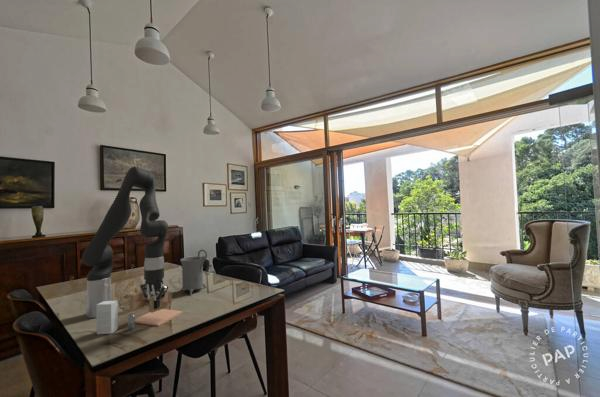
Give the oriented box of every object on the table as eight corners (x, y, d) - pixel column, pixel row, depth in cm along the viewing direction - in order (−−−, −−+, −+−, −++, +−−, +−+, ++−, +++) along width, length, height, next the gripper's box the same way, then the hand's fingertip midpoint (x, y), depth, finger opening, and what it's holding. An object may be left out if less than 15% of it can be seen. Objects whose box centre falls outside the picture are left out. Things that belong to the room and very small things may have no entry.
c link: (149, 302, 123) (150, 289, 123) (171, 305, 119) (171, 291, 119) (129, 309, 114) (130, 295, 114) (152, 312, 109) (153, 297, 110)
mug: (172, 294, 153) (171, 251, 154) (189, 286, 168) (188, 247, 168) (199, 296, 148) (198, 251, 149) (215, 288, 162) (214, 247, 163)
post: (126, 330, 109) (126, 315, 109) (132, 327, 111) (131, 313, 111) (131, 330, 108) (130, 316, 108) (136, 328, 110) (136, 313, 110)
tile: (132, 322, 116) (132, 320, 116) (158, 310, 130) (158, 308, 130) (158, 326, 112) (158, 324, 112) (182, 312, 125) (182, 311, 125)
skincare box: (118, 329, 110) (118, 300, 110) (111, 334, 106) (111, 304, 106) (103, 329, 110) (103, 300, 110) (96, 334, 106) (95, 304, 106)
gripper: (173, 266, 113) (173, 306, 113) (149, 264, 118) (149, 303, 117) (159, 270, 106) (159, 313, 106) (134, 268, 111) (133, 309, 110)
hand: (154, 308), depth 111 cm, fingers closed on c link
